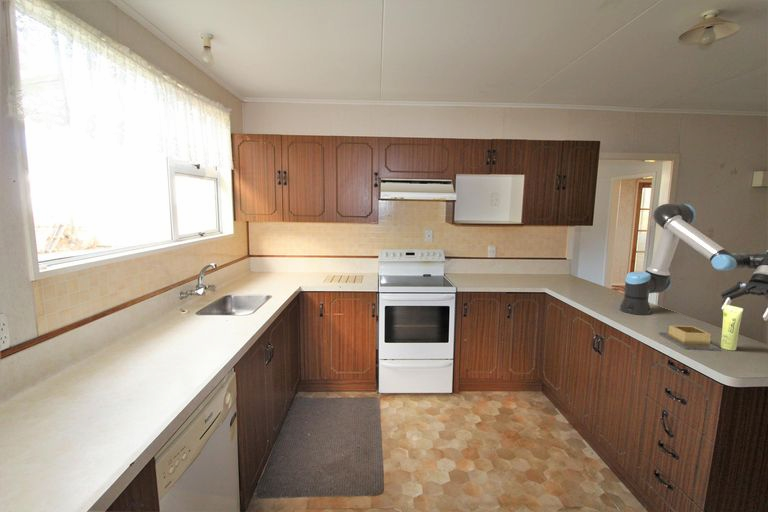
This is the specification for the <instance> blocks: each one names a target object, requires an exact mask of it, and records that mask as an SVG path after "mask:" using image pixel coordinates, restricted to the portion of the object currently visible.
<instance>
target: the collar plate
mask: <svg viewBox="0 0 768 512" xmlns="http://www.w3.org/2000/svg"><path fill="white" fill-rule="evenodd" d="M668 327H669V329H668V332H660V331H659V332H658V335H659V336H662V337H663V338H665V339H666V340H668V341H670V342H672V343H673V344H675V345H677V346H679V347H681V348H683V349H684V350H692V349H694V351H696V350H697V351H698V350H699V351H716V352H717V351H720V352H721V351H722V348H721V347H720V346H717V345H715V344H712V343H711V338H712V336H711V335H712V334H711V333H709V332H707V331H706V330H705V331H704V330H703V329H701V328H698V327H696V326H694V325H669V326H668Z"/></svg>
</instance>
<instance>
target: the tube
mask: <svg viewBox="0 0 768 512" xmlns="http://www.w3.org/2000/svg"><path fill="white" fill-rule="evenodd" d="M743 312H744V308H742V307H739V306H734V305H731V304H730V305H726V304H724V312H723V311H722V313H723V314H722V315H723V316H722V329H721V339H720V348H721V349H723V350H728V351H736V350H737V347H738V346H737V345H738V339H739V333H740V327H741V321H742V317H743Z"/></svg>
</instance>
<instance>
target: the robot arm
mask: <svg viewBox="0 0 768 512" xmlns="http://www.w3.org/2000/svg"><path fill="white" fill-rule="evenodd" d="M652 217H653V220H654V222H655V223H656V224H657V225H659V227H661V228H662V231H661V233H660V234H661V235H660V237H659V239H658V243H657V245H656V249H655V252H654V254H653V258H652V261H651V264H650V266H649V267H647V268H646V269H645V271H631V272H628V273H627V274H626V277H625V280H624V281H625V284H624V296H623V299H622V300H621V303H620V304H619V308H618V309H619V310H620V311H621V312H624V313H626V314H632V315H637V316H638V315H639V316H648V315H650V314H651V307H650V306H651V305H650V303H649V297H650V295H649V294H654V293H656V294H659V293H662V292H666V291H668V290H669V289H670V288H671V286H672V281H673V280H672V279H671V273H670V271H669V269H670V267H671V263H672V260H673V259H674V255H675V252H676V251H677V246H678V244H679V241H680V240H681V241H683V242H685V243H686V244H687V245H689V246H690V247H691V248H693V249H694V250H695V251H697V252H698V253H700V254H701V255H702V256H703V257H705V258H706V259H708V260H709V261H710V262H711V266H712V268H714V269H715V270H717V271H724V272H727V271H728V272H730V271H735V270H736V271H737V270H754V272H753V273H752V275H751V277H750V279H749V281H748V283H743V282H742V281H738V282H737V283H736V284H735V285H733V286H732V287H731V288H729V289H726V290H725V291H724V292H722V293H720V296H721V297H722V299H723V300H722V307H721V312H722V313H723V312H724V304H726V305H730V306H731V303H732V300H734V299H737V298H739V297H741V296H745V295H753V296H755V295H756V296H760V297H761V296H764V298H765V299H766V300H767V301H768V249H767V250H766V251H765V252H764V253H759V252H758V253H745V252H739V253H738V252H736V253H735V252H733V253H731V252H729V251H728V250H727V249H725V248H724V247H722V246H721V245H720V244H718V243H717V242H715V241H714V240H712V239H711V238H710V237H708V236H706V235H704V233H702V232H700V231H699V230H698V229H697V228H695V227H694V226H692V225H691V223H693V222H694V221H695V220H696V217H697V212H696V209H694V207H693V206H692V205H690V204H688V203H682V202H681V203H663V204H661V205H658V206H657V207H656V208H655V210H654V211H653V216H652ZM762 319H763V321H766V322H768V307H767V308H766V310H765V312H764V313H763V315H762Z"/></svg>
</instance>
